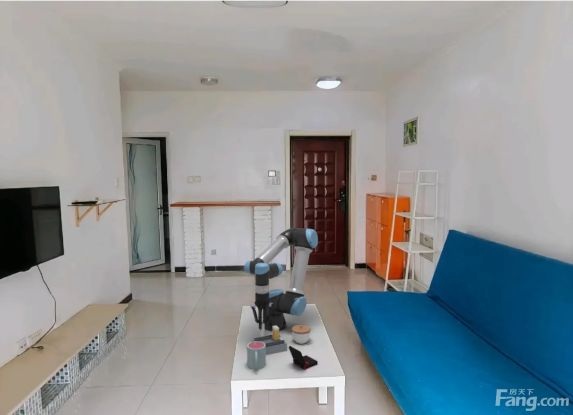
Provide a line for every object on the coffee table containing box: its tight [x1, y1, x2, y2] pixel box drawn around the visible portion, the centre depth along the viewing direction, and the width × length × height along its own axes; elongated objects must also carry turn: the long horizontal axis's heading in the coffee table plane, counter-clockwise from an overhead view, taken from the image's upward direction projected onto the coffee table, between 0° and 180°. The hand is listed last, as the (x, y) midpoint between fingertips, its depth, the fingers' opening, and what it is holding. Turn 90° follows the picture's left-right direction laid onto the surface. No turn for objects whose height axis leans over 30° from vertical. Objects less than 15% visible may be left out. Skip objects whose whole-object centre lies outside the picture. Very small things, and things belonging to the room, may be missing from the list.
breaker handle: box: [271, 326, 281, 341], centre depth 204 cm, size 4×5×7 cm
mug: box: [246, 341, 267, 370], centre depth 183 cm, size 14×9×10 cm
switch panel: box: [251, 334, 288, 356], centre depth 202 cm, size 16×12×5 cm
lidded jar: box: [291, 324, 312, 345], centre depth 211 cm, size 11×11×9 cm
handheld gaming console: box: [288, 345, 319, 370], centre depth 185 cm, size 9×12×10 cm
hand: (262, 334), depth 200 cm, fingers closed
